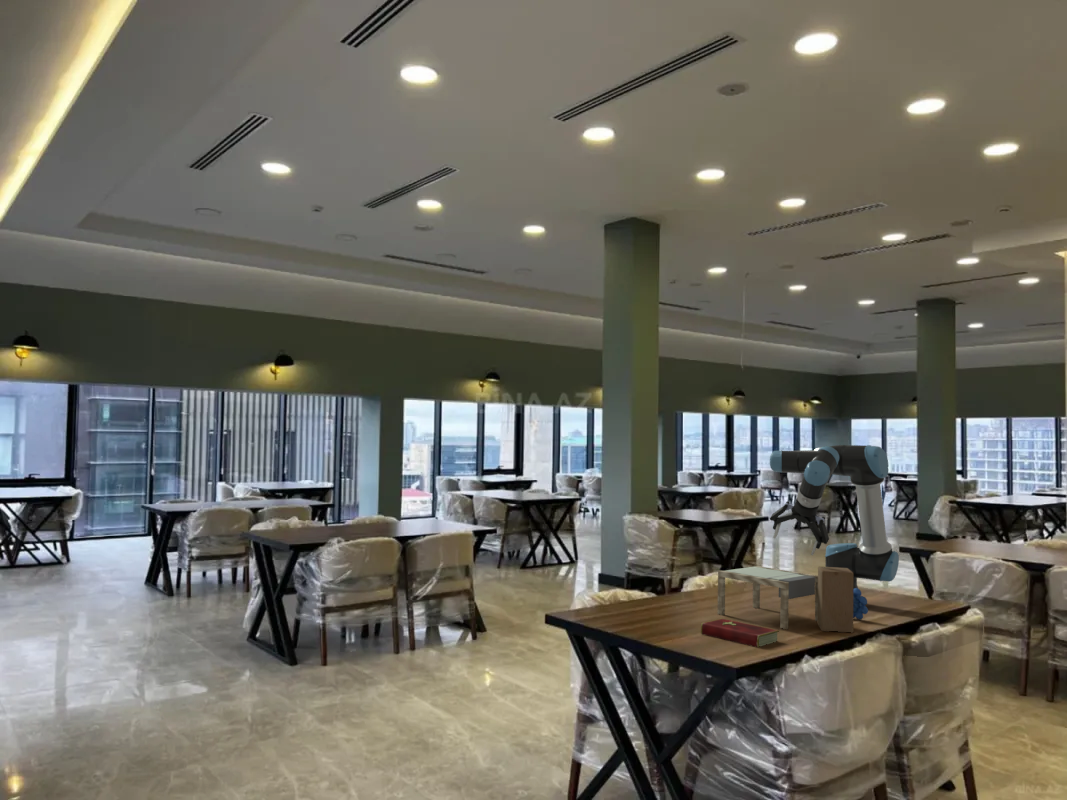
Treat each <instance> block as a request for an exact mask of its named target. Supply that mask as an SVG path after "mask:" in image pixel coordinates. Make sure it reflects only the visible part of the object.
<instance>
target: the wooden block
mask: <svg viewBox="0 0 1067 800" xmlns="http://www.w3.org/2000/svg"><path fill="white" fill-rule="evenodd" d="M817 576H818V621H817V625H818V627H819V629H820V630H821V631H822V632H829V631H838V632H837V633H844V632H851V633H850V634H852V633H854V619H853V572H852V571H851V570H849V569H848V568H838V567H825V566H818V567H817Z"/></svg>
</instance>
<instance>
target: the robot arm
mask: <svg viewBox="0 0 1067 800" xmlns="http://www.w3.org/2000/svg"><path fill="white" fill-rule="evenodd" d="M888 460H889V459H888V455H887V453H886V452H885V450H884V449H883V448H882V447H880V446H877V445H869V444H867V445H856V444H855V445H852V444H849V445H848V444H839V445H838V444H837V445H831V446H827V445H826V446H822V447H817V448H815V449H814V450H813V449H812V450H805V449H804V450H783V449H782V450H781V449H780V450H773V451H772V452H771V453H770V457H769V467H770V469H771V470H772V472H774V473H781V474H783V473H784V474H785V473H787V474H789V473H790V474H791V473H792V474H793V473H794V474H803V476H802V480H801V484H800V486H799V489H798V492H797V495H796V499H795V501H794V505H792V504H790V503H791V502H790V501H785V503H784V505H782V507H780V508H779V509H777V510H776V511H774V512H773V513H772V514H771V516H770V517H769V520H770V521H771V522H773V525H772V529H773V530H774V533H773V537H772V539H776V538H777V536H778V535H779V530H780V528H781V525H782V523H784V522H787V521H790V520H795V521H797V522H800V523H802V524H803V525H804V524H805V525H806V526H807V528H809V529H810V530H811V532H812V535H813V536H814V537H815V541H814V543H813V545H812V546H813V547H812V549H811V553H810V556H814V555H815V552H816V550H819V549H820V548H821V546H822V544H823V545H827V544H828V542H829V541H830V537H829V533H828V530H827V527H826V526H827V525H826V517H825V516H817V513H818V510H819V507H820V504H821V501H822V498H823V495H824V492H825V490H826V489H825V488H826V486H827V484H828V482H829V480H830V479H831V477H832V476H833V475H835V476H843V477H850V482H851V484H852V485H853V486H855V491H856V499H857V508H858V515H859V523H860V532H861V540H862V541H861V543H860V544H859V546H858V544H857V543H855V542H854V543H853V542H849V543H848V542H846V543H845V542H843V543H831V544H829V545H827V546H826V549H825V556H824V557H825V561H824V562H825V564H824V565H825V566H824V567H838V568H848V569H849V570H851V571H852V572H853V589H854V588H858V589H859V586H858V579H861V580H862V579H863V580H870V581H878V582H892V581H893V580H894V579H895V578H896V575H897V573H898V571H899V563H900V561H899V560H900V559H899V558H900V557H899V552H898V551H895V550H893V547H892V544H891V543H890V542H888V541H887V531H886V523H885V522H886V521H885V513H884V505H883V497H882V489H881V488H882V487H881V485H882V483H883V482H884V481H885V478H887V477H888V475H889V461H888ZM790 510H791V511H790ZM786 511H790V512H788V513H786V514H784V513H785V512H786ZM782 514H783V515H782ZM816 522H817V524H816Z"/></svg>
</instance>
